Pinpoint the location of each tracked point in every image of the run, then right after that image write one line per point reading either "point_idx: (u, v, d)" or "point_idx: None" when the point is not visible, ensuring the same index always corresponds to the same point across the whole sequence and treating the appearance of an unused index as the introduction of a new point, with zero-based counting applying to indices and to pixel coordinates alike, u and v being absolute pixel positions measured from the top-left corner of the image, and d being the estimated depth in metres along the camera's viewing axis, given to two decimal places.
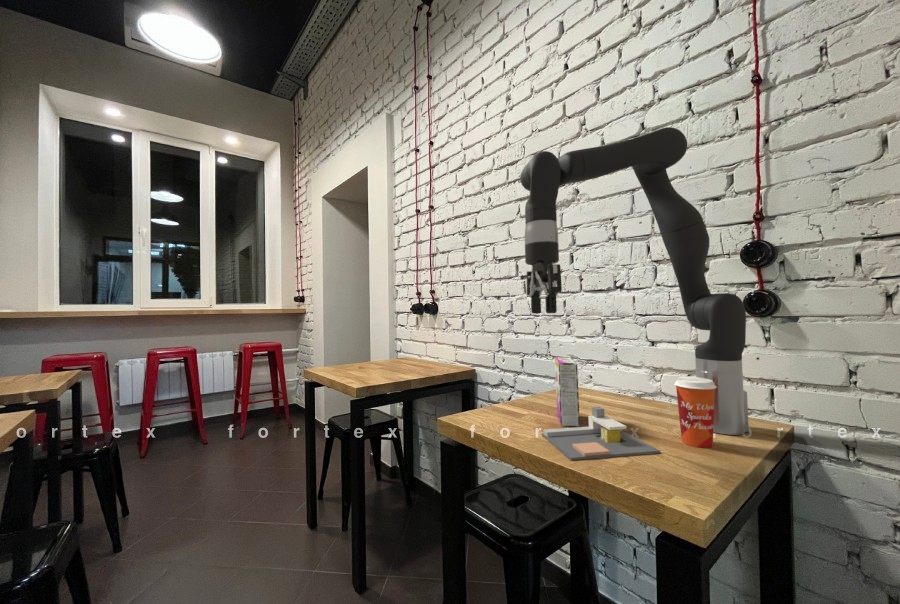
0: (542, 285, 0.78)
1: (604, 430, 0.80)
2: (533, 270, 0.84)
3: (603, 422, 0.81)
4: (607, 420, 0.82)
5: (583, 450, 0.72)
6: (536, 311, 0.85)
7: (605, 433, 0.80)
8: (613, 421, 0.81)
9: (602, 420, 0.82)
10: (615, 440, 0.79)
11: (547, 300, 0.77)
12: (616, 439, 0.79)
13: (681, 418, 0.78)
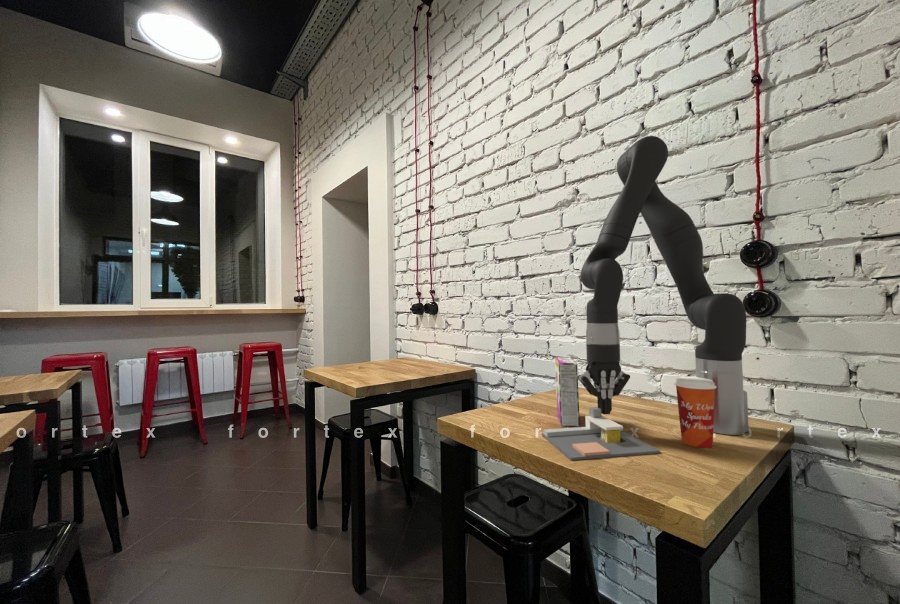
0: (612, 388, 0.85)
1: (604, 430, 0.80)
2: (594, 366, 0.85)
3: (600, 422, 0.81)
4: (604, 420, 0.82)
5: (583, 450, 0.72)
6: None
7: (605, 433, 0.80)
8: (610, 421, 0.81)
9: (599, 421, 0.82)
10: (615, 440, 0.79)
11: None
12: (616, 439, 0.79)
13: (681, 418, 0.78)
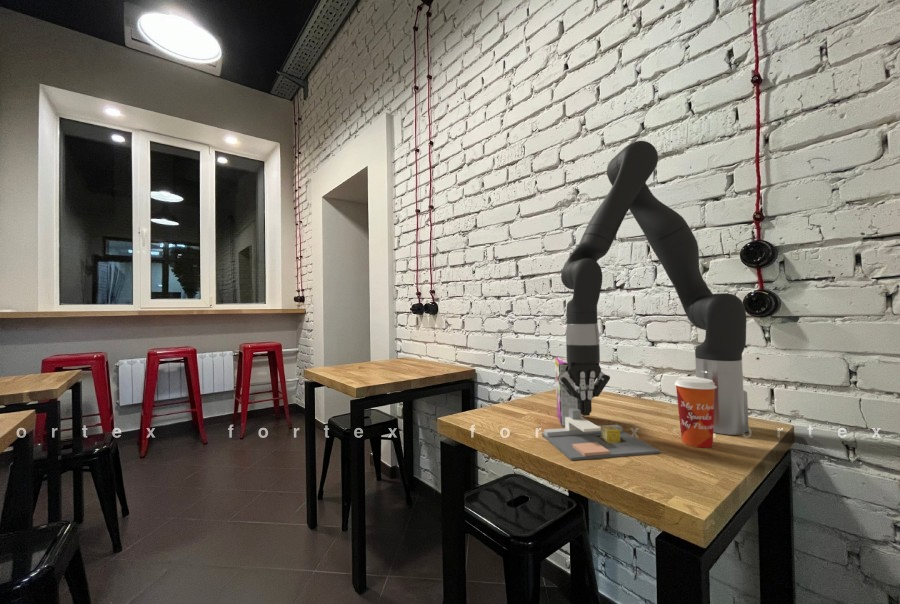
0: (591, 389, 0.84)
1: (604, 430, 0.80)
2: (573, 367, 0.84)
3: (578, 424, 0.80)
4: (583, 422, 0.81)
5: (583, 450, 0.72)
6: None
7: (605, 433, 0.80)
8: (588, 423, 0.81)
9: (578, 422, 0.81)
10: (615, 440, 0.79)
11: None
12: (616, 439, 0.79)
13: (681, 418, 0.78)
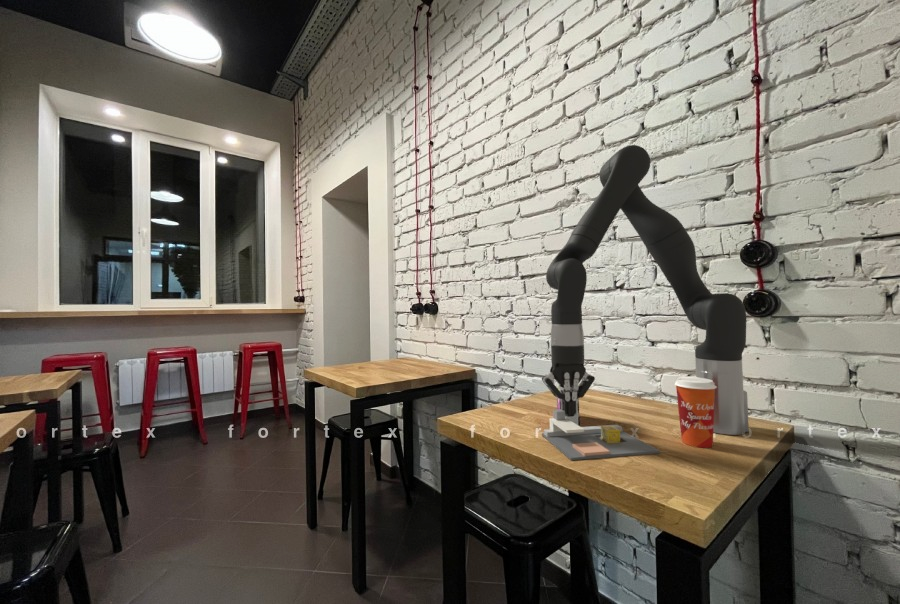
0: (576, 390, 0.83)
1: (604, 430, 0.80)
2: (557, 368, 0.83)
3: (562, 425, 0.79)
4: (566, 423, 0.81)
5: (583, 450, 0.72)
6: None
7: (605, 433, 0.80)
8: (572, 424, 0.80)
9: (561, 423, 0.81)
10: (615, 440, 0.79)
11: (573, 405, 0.84)
12: (616, 439, 0.79)
13: (681, 418, 0.78)
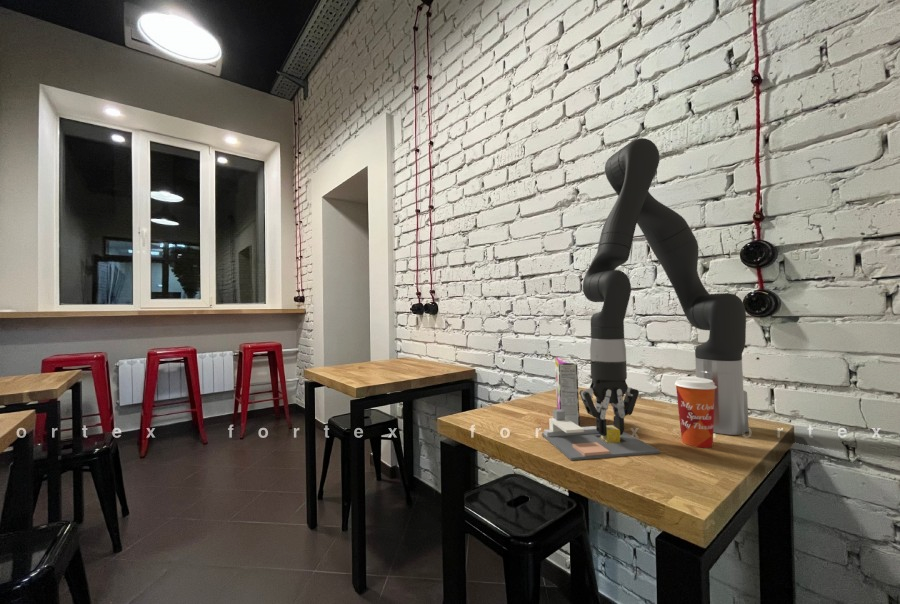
0: (622, 407, 0.80)
1: None
2: (600, 385, 0.80)
3: (561, 425, 0.79)
4: (566, 423, 0.81)
5: (583, 450, 0.72)
6: None
7: None
8: (572, 424, 0.80)
9: (561, 423, 0.81)
10: (615, 440, 0.79)
11: None
12: (616, 438, 0.79)
13: (681, 418, 0.78)
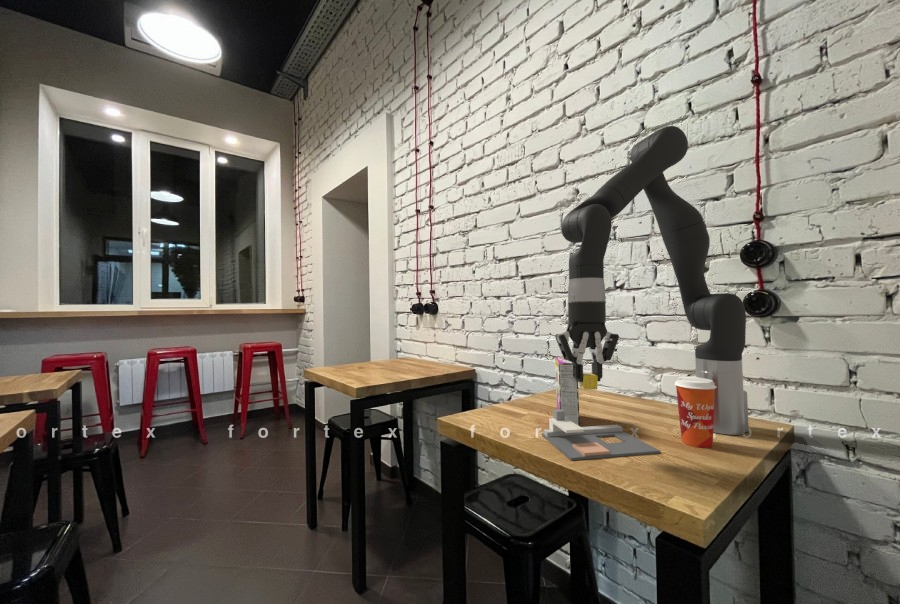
0: (600, 351, 0.74)
1: None
2: (576, 327, 0.74)
3: (561, 425, 0.79)
4: (566, 423, 0.81)
5: (583, 450, 0.72)
6: None
7: None
8: (572, 424, 0.80)
9: (561, 423, 0.81)
10: (592, 386, 0.74)
11: (599, 368, 0.75)
12: (594, 385, 0.74)
13: (681, 418, 0.78)
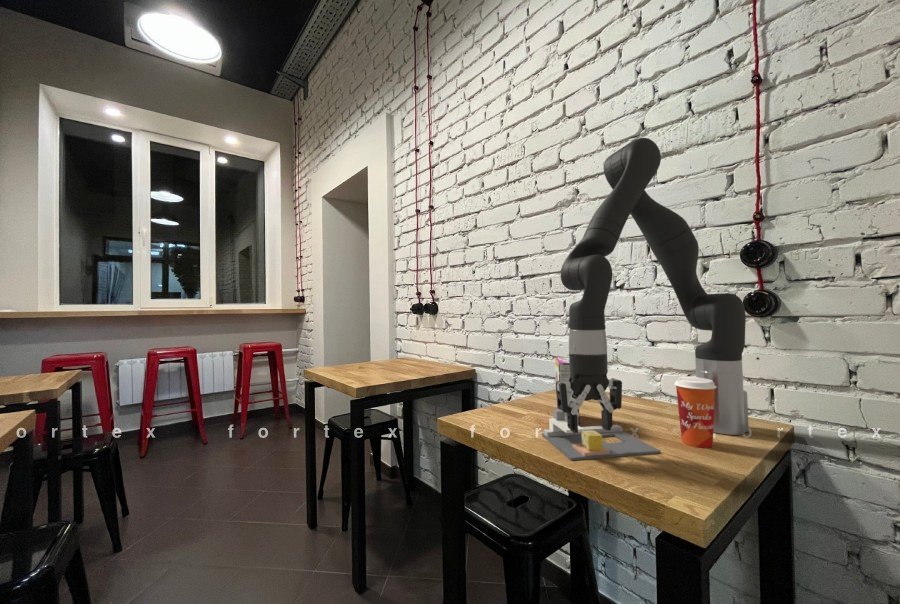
0: (608, 401, 0.73)
1: (585, 435, 0.74)
2: (579, 381, 0.73)
3: (561, 425, 0.79)
4: (566, 423, 0.81)
5: (583, 450, 0.72)
6: None
7: (586, 439, 0.73)
8: None
9: (561, 423, 0.81)
10: (597, 446, 0.73)
11: (609, 417, 0.74)
12: (598, 445, 0.73)
13: (681, 418, 0.78)
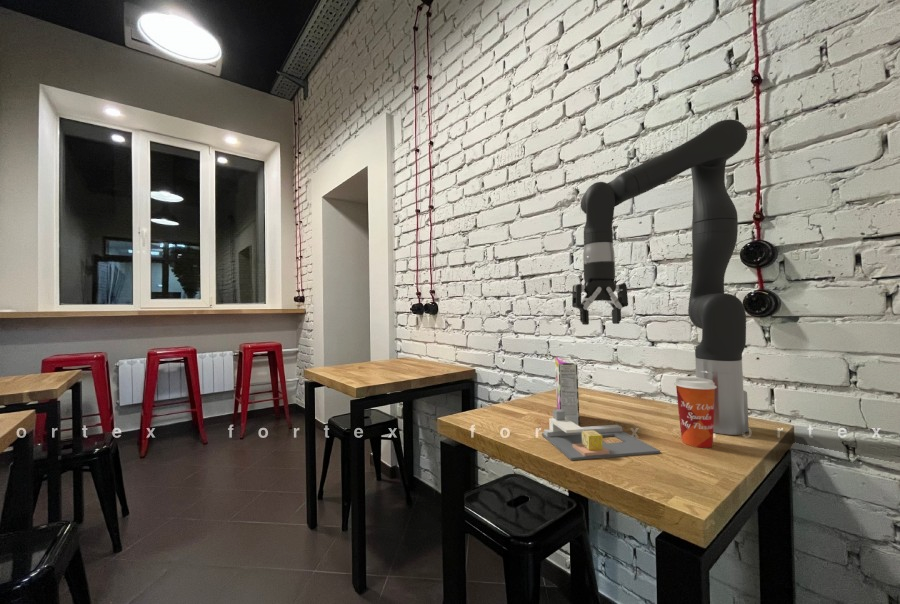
0: (616, 300, 0.91)
1: (585, 435, 0.74)
2: (592, 284, 0.91)
3: (561, 425, 0.79)
4: (566, 423, 0.81)
5: (583, 450, 0.72)
6: None
7: (586, 439, 0.73)
8: (572, 424, 0.80)
9: (561, 423, 0.81)
10: (597, 446, 0.73)
11: None
12: (598, 445, 0.73)
13: (681, 418, 0.78)
